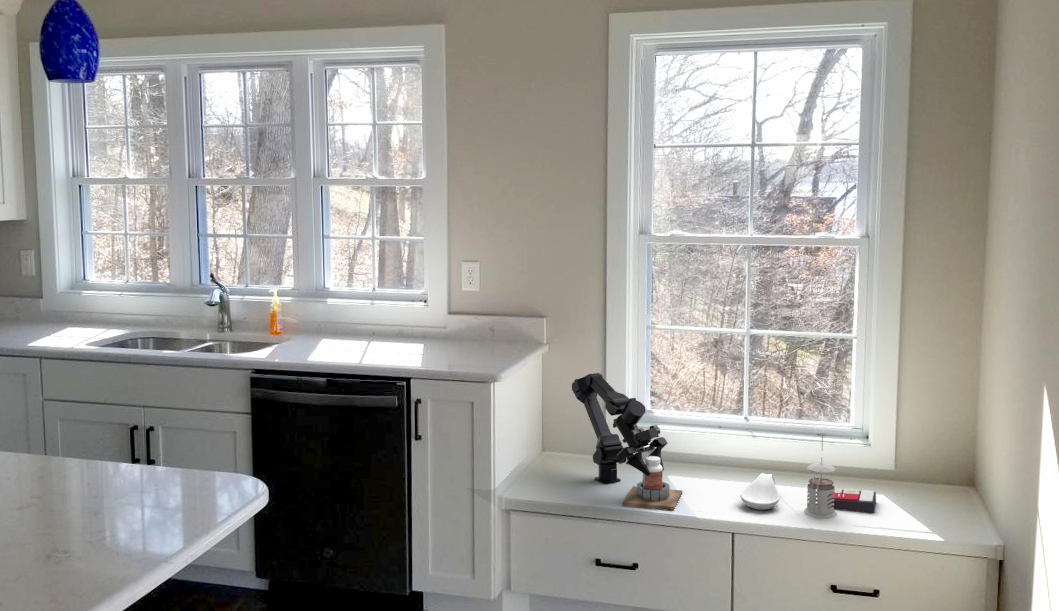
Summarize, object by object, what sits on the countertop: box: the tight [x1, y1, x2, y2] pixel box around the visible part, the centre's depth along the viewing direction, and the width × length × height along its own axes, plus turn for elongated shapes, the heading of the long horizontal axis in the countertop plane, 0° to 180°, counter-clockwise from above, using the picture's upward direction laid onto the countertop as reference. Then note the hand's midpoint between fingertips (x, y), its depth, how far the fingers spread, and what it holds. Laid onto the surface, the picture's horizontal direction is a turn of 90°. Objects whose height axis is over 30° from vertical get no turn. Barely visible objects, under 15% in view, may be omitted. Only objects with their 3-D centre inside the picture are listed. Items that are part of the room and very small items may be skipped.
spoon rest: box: [740, 472, 781, 511], centre depth 304 cm, size 24×12×7 cm, turn 159°
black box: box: [831, 487, 877, 514], centre depth 300 cm, size 11×4×15 cm
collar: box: [636, 480, 671, 502], centre depth 306 cm, size 10×10×4 cm
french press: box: [803, 431, 838, 519], centre depth 291 cm, size 10×12×25 cm
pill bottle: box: [642, 455, 664, 489], centre depth 306 cm, size 6×6×11 cm
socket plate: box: [622, 485, 683, 511], centre depth 307 cm, size 16×16×1 cm
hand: (656, 472), depth 305 cm, fingers closed on pill bottle, 6 cm apart
